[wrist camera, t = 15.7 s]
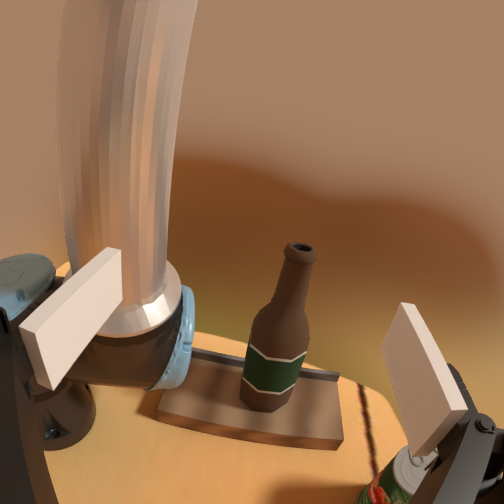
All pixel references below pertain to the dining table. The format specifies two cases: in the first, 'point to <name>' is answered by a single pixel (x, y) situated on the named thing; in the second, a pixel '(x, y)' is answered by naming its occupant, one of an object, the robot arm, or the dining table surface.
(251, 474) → the dining table surface
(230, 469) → the dining table surface
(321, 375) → the shelf
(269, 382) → the beer bottle
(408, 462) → the canned tomato
